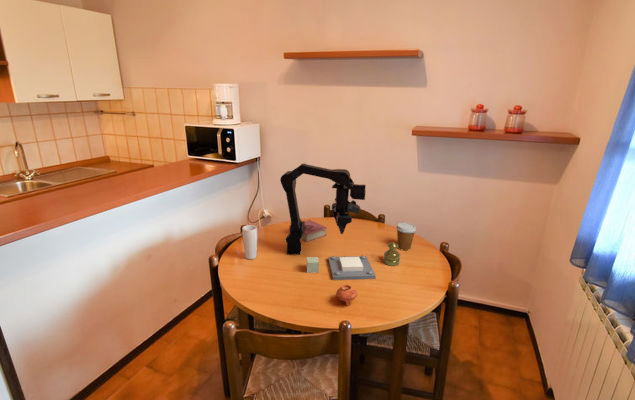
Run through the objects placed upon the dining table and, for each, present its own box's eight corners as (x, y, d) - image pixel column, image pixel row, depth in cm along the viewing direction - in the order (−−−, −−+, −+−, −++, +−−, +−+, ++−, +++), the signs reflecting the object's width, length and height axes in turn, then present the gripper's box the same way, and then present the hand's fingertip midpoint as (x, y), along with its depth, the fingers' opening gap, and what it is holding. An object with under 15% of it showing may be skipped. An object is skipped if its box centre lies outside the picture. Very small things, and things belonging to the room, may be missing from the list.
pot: (360, 306, 127) (357, 291, 125) (339, 311, 127) (336, 296, 125) (356, 293, 135) (353, 278, 132) (336, 297, 135) (333, 283, 132)
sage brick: (307, 273, 150) (307, 262, 148) (306, 267, 154) (306, 257, 153) (318, 272, 150) (318, 262, 149) (317, 267, 155) (317, 257, 153)
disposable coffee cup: (410, 253, 169) (413, 231, 166) (391, 249, 174) (394, 226, 170) (415, 246, 177) (418, 224, 173) (397, 242, 182) (399, 221, 178)
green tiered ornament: (399, 267, 156) (401, 247, 153) (383, 265, 157) (384, 245, 154) (399, 259, 163) (401, 240, 160) (383, 258, 164) (385, 238, 161)
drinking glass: (251, 262, 158) (250, 231, 153) (240, 258, 161) (238, 228, 156) (261, 256, 163) (260, 226, 159) (250, 252, 167) (249, 223, 162)
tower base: (333, 280, 144) (333, 272, 143) (328, 259, 161) (328, 252, 160) (375, 278, 146) (376, 271, 145) (366, 258, 163) (366, 252, 162)
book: (308, 227, 199) (308, 219, 198) (326, 235, 188) (327, 227, 187) (288, 233, 190) (288, 225, 188) (306, 243, 179) (307, 234, 178)
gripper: (364, 204, 148) (361, 237, 153) (355, 191, 166) (352, 222, 171) (338, 204, 147) (336, 238, 152) (332, 191, 164) (330, 222, 169)
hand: (340, 229), depth 161 cm, fingers open, 9 cm apart
